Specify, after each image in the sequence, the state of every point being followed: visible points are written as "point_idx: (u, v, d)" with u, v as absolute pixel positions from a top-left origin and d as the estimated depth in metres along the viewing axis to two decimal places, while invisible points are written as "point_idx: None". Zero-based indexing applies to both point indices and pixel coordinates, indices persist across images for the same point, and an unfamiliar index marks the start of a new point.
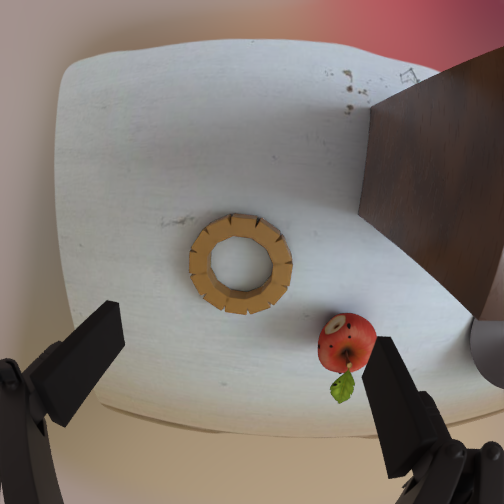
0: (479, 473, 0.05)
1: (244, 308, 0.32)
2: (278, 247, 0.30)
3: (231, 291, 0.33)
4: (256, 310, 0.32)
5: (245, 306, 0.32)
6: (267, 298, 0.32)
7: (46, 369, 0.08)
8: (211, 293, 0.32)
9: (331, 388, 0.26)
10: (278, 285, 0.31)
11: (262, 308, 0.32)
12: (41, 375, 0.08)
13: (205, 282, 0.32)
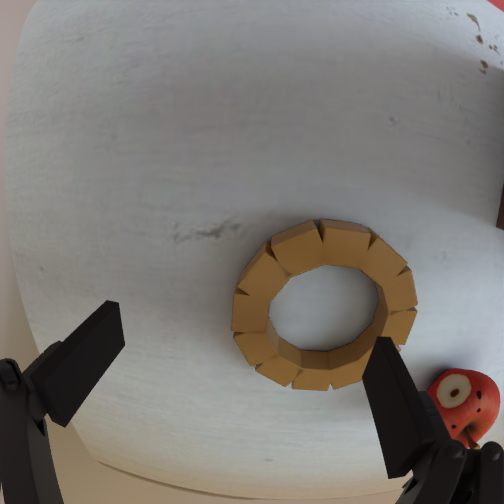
0: (479, 473, 0.05)
1: (326, 382, 0.17)
2: (402, 284, 0.15)
3: (302, 353, 0.18)
4: (345, 383, 0.17)
5: (328, 380, 0.17)
6: None
7: (46, 369, 0.08)
8: (271, 363, 0.17)
9: None
10: None
11: (355, 380, 0.17)
12: (41, 375, 0.08)
13: (262, 346, 0.17)
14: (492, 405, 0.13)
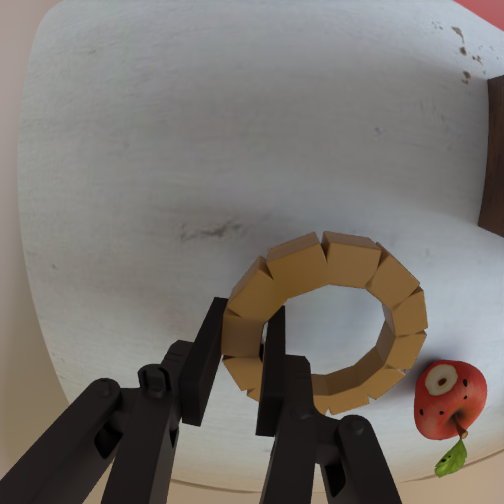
0: (344, 454, 0.07)
1: (324, 408, 0.15)
2: (412, 306, 0.13)
3: None
4: (344, 409, 0.15)
5: (326, 406, 0.15)
6: (369, 391, 0.15)
7: (194, 368, 0.10)
8: None
9: (438, 465, 0.13)
10: (393, 370, 0.14)
11: (355, 406, 0.15)
12: (192, 375, 0.09)
13: (254, 371, 0.15)
14: (478, 393, 0.14)
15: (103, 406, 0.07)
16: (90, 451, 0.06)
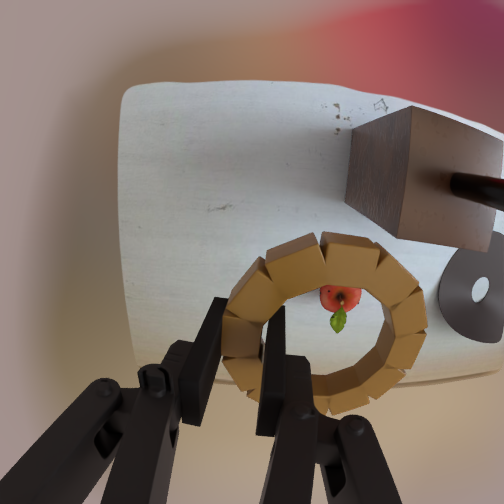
0: (344, 454, 0.07)
1: (324, 408, 0.15)
2: (412, 306, 0.13)
3: None
4: (345, 409, 0.15)
5: (326, 406, 0.15)
6: (369, 391, 0.15)
7: (194, 368, 0.10)
8: None
9: (330, 320, 0.41)
10: (393, 370, 0.14)
11: (356, 406, 0.15)
12: (192, 375, 0.09)
13: (254, 372, 0.15)
14: None
15: (103, 406, 0.07)
16: (90, 451, 0.06)
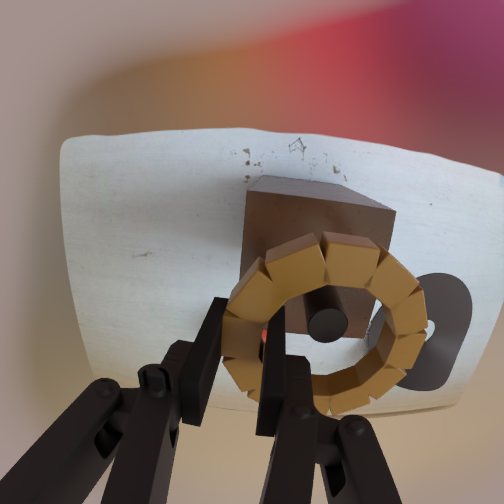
0: (344, 454, 0.07)
1: (324, 408, 0.15)
2: (412, 305, 0.13)
3: None
4: (345, 409, 0.15)
5: (327, 406, 0.15)
6: (370, 391, 0.15)
7: (194, 368, 0.10)
8: None
9: None
10: (394, 369, 0.14)
11: (356, 406, 0.15)
12: (192, 375, 0.09)
13: (254, 372, 0.15)
14: None
15: (103, 406, 0.07)
16: (90, 451, 0.06)
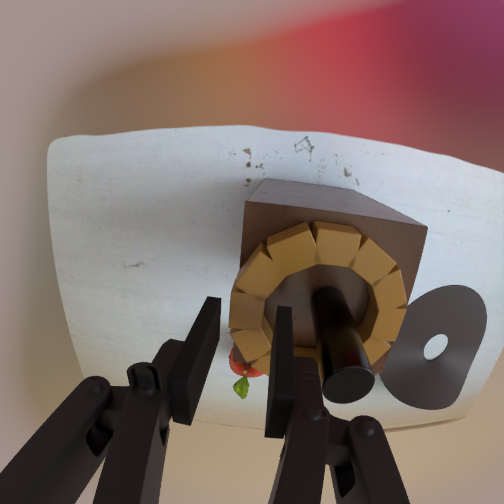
0: (354, 454, 0.07)
1: None
2: (391, 283, 0.16)
3: (296, 350, 0.19)
4: None
5: None
6: None
7: (184, 367, 0.10)
8: (267, 359, 0.18)
9: (233, 387, 0.38)
10: (379, 341, 0.17)
11: None
12: (181, 374, 0.09)
13: (257, 342, 0.17)
14: None
15: (94, 403, 0.07)
16: (82, 448, 0.06)
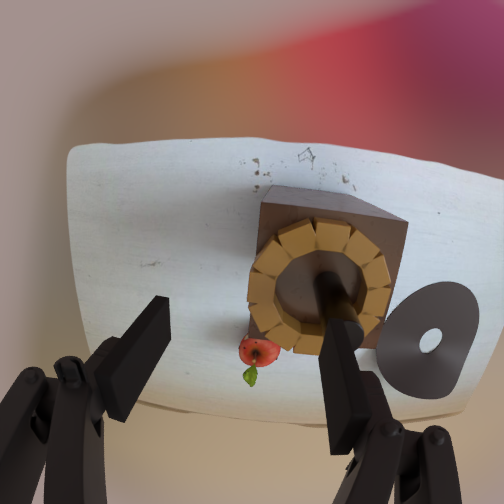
0: (424, 461, 0.06)
1: None
2: (376, 266, 0.20)
3: (301, 324, 0.24)
4: None
5: None
6: None
7: (111, 364, 0.09)
8: (277, 329, 0.22)
9: (243, 375, 0.42)
10: (369, 316, 0.21)
11: None
12: (107, 371, 0.09)
13: (270, 315, 0.22)
14: (265, 342, 0.44)
15: (32, 391, 0.07)
16: (29, 435, 0.06)
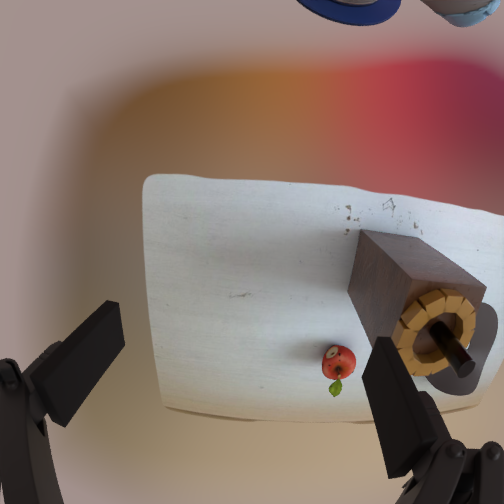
0: (479, 473, 0.05)
1: (429, 370, 0.28)
2: (470, 318, 0.25)
3: (418, 356, 0.29)
4: (438, 370, 0.28)
5: (431, 369, 0.28)
6: None
7: (46, 369, 0.08)
8: (409, 362, 0.28)
9: (329, 388, 0.48)
10: None
11: (442, 368, 0.28)
12: (41, 375, 0.08)
13: (408, 354, 0.27)
14: (347, 360, 0.49)
15: None
16: None
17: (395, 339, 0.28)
